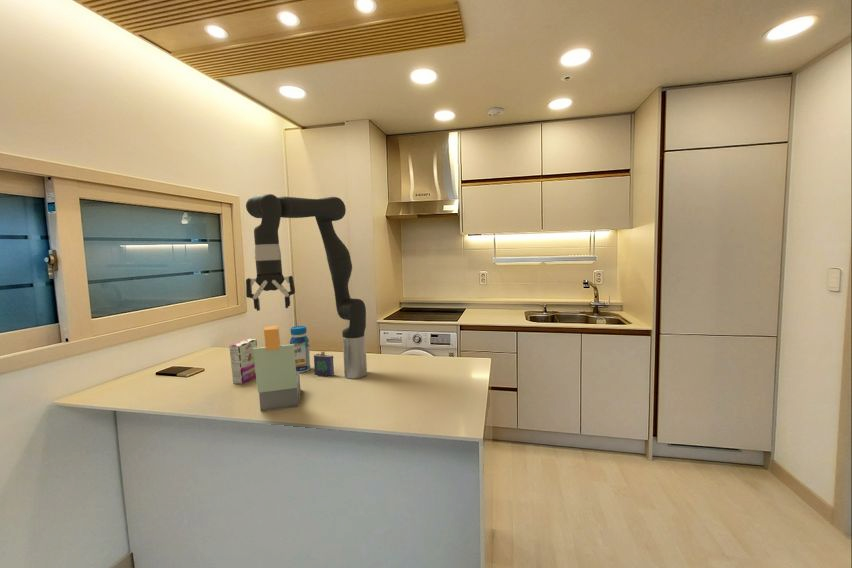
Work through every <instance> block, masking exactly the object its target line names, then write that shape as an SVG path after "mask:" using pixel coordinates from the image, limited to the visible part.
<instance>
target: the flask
mask: <svg viewBox="0 0 852 568" xmlns="http://www.w3.org/2000/svg"><path fill="white" fill-rule="evenodd" d="M325 353H326V350H323V351H320V353H319V352H318V353H316V354H314V355H313V364H314V367H313V368H314V369H313V371H314V376H315V375H318V376H317V377H328V376H330V377H334V376H335V368H334V367H335V366H334V355H333V354H325ZM333 375H334V376H333Z"/></svg>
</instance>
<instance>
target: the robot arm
mask: <svg viewBox="0 0 852 568" xmlns="http://www.w3.org/2000/svg"><path fill="white" fill-rule="evenodd" d="M245 208H246V211H247V213H248V215H250V216H251V217H253V218H255V219H261V222H260V224H259V225H257V226H255V227H254V229H253V237H254V259H255V268H256V269H255V270H256V278H251V277H248V278H246V280H245V289H246V291H245V293H246V294H245V295H246V296H245V297H246V298H248V299H249V298H250V299H253V308H254V309H255V310H256V311H257V312H258V311H261V305H260V298H259V296H260V295H261V294H262V292H263V291H265V292H268V291H278V290H279V291H280V292H281V293H282V294H283V295H284V304H285V306H284V307H285V309H289V307H290V305H291V299H290V298H291V296H292V295H295V293H296V288H295V282H294V276H293V275H288V276H284V275H283V267H282V266H283V265H282V251H281V248H280V241H279V238H280V237H279V228H280V223H281V218H284V219H303V218H313V217H314V218H315V221H316V223H317V226H318V230H319V232H320V236H321V239H322V243H323V247H324V252H325V255H326V260H327V264H328V268H329V273H330V276H331V281H332V285H333V286H332V287H333V290H334V300H335V308H336V311H337V315H338V317H339V318H340V319H342V320H344V321H345V320H347V321H349V325H348V327H346V328H344V329H342V331H341V332H342V333H341V334H342V336H341V337H342V353H343V370H344V371H343V372H344V377H345V378H346V379H353V380H355V379H360V378H363V377H367V376H368V367H367V366H368V365H367V353H366V340H365V339H366V337H365V332H366V327H367V308H366V304H365V302H364V301H363V300H362V299H359V298H352V297H351V295H350V290H349V282H350V278H351V276H352V271H353V263H352V259H351V255H350V252H349V249H348V248H347V246H346V245H345V244H344V242H343V241H342V240H341V239H340V238H339V236H338V234H337V233H336V230H335V227H334V224H333V222H336V221H337V222H338V221H340V220H342V219H343V218H344V217H345V215H346V213H347V212H346V211H347V210H346V209H347V208H346V205H345V203H344V201H343V200H342V199H341V198H339V197H337V196H329V197H328V196H327V197H323V198H304V197H295V196H294V197H293V196H279V197H278V196H276V195H275V194H272V193H265V194H258V195H253V196H251V197H250V198H248V200H247V201H246V204H245ZM284 281H286V283H287V284H289V291H288V290H287V289H286V287H285V286H283V283H284ZM255 283H256V284H257V285H258V286H259V287H258V289H257V290H256V291H255V293H253V290H252V289H253V286H254V284H255Z"/></svg>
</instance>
